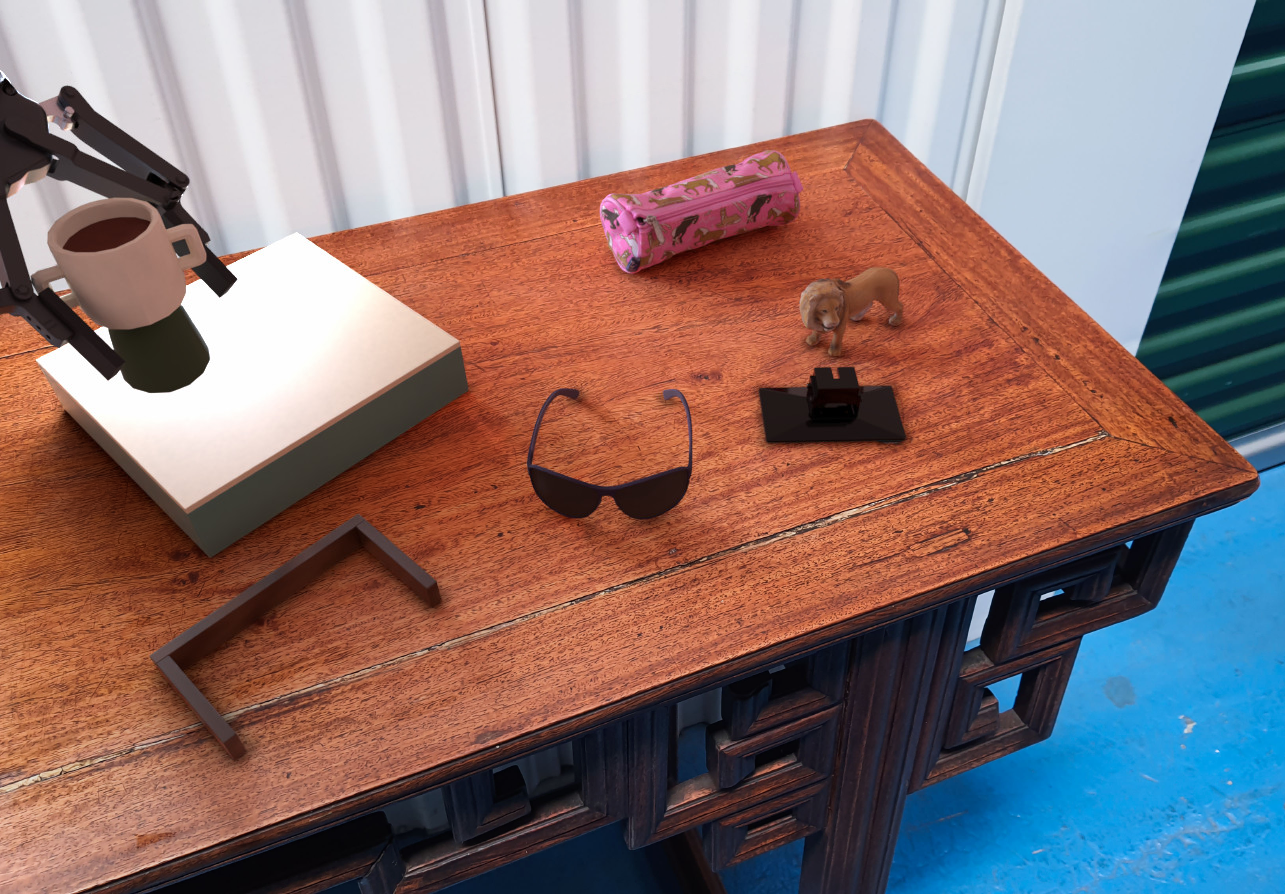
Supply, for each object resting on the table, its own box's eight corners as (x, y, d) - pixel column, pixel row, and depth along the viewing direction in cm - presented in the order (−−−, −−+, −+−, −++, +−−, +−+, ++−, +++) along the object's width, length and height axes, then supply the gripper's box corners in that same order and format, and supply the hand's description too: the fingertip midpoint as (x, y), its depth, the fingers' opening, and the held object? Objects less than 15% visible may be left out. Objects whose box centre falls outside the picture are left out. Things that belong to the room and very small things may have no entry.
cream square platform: (210, 558, 80) (184, 509, 75) (63, 408, 92) (34, 359, 88) (469, 390, 93) (460, 340, 89) (311, 280, 106) (296, 232, 102)
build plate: (890, 389, 93) (899, 350, 90) (906, 444, 88) (916, 406, 85) (758, 390, 93) (762, 352, 89) (766, 445, 88) (771, 407, 84)
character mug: (227, 322, 79) (170, 177, 70) (257, 370, 75) (201, 223, 66) (84, 374, 75) (4, 226, 66) (108, 428, 71) (25, 279, 62)
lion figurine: (821, 383, 93) (832, 306, 87) (778, 356, 96) (787, 280, 90) (915, 316, 100) (932, 240, 94) (872, 292, 103) (887, 218, 97)
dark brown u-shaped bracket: (234, 761, 67) (223, 743, 65) (161, 674, 72) (148, 655, 70) (442, 600, 76) (437, 581, 75) (364, 532, 81) (358, 512, 79)
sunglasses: (526, 523, 82) (520, 483, 78) (544, 394, 93) (540, 353, 89) (692, 526, 81) (693, 485, 78) (690, 395, 92) (691, 354, 89)
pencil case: (633, 294, 103) (631, 221, 97) (595, 249, 109) (591, 177, 103) (805, 239, 110) (814, 167, 104) (760, 199, 116) (766, 129, 110)
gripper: (48, 34, 74) (268, 266, 80) (-261, 173, 60) (33, 442, 66) (67, -29, 68) (302, 227, 74) (-268, 109, 55) (53, 409, 61)
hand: (175, 328), depth 70 cm, fingers closed on character mug, 10 cm apart
